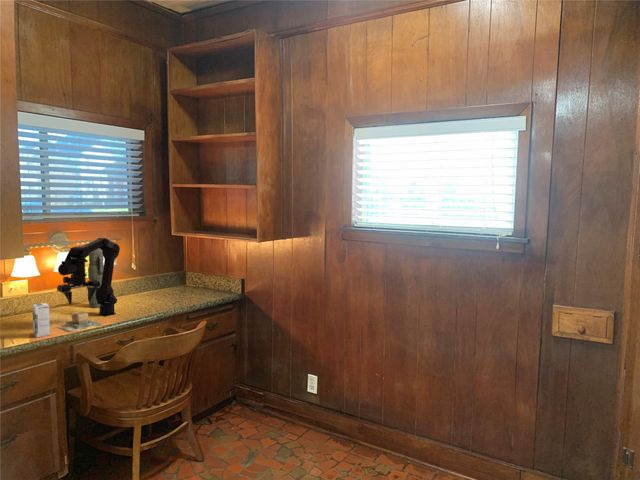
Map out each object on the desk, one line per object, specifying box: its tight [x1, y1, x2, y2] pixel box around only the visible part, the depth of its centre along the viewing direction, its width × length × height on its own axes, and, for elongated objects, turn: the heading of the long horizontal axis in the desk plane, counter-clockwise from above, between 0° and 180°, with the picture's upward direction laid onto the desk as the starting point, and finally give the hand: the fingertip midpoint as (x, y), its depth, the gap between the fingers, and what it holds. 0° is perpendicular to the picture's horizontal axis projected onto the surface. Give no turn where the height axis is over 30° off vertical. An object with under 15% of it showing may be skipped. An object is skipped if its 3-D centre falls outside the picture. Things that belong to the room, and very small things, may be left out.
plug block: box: [71, 311, 89, 325], centre depth 215 cm, size 7×4×6 cm, turn 55°
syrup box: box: [32, 302, 51, 338], centre depth 200 cm, size 6×6×14 cm
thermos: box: [87, 248, 104, 309], centre depth 254 cm, size 9×12×35 cm
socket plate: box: [57, 319, 103, 333], centre depth 215 cm, size 16×12×2 cm
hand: (79, 302), depth 217 cm, fingers open, 9 cm apart
